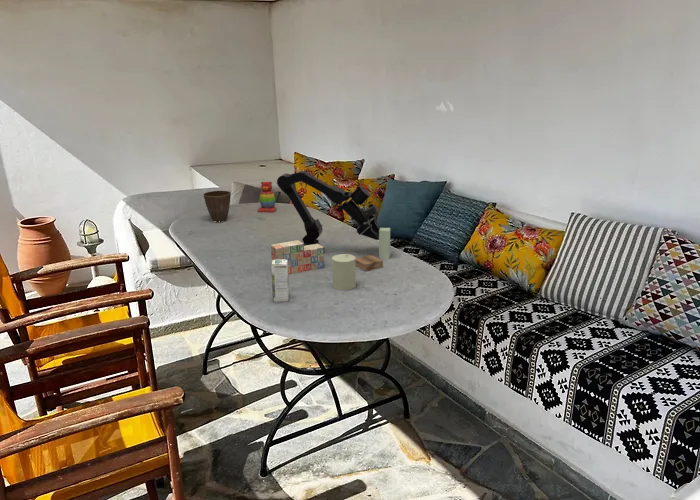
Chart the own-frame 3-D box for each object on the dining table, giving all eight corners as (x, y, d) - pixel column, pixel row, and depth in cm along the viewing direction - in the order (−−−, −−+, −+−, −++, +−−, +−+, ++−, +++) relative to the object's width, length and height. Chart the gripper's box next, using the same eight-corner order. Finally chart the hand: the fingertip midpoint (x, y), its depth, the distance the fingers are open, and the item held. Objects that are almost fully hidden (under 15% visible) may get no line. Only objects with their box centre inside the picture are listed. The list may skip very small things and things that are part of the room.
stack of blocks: (318, 263, 231) (318, 236, 227) (324, 267, 226) (324, 240, 222) (272, 271, 222) (270, 244, 218) (277, 276, 217) (275, 248, 213)
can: (359, 282, 209) (358, 254, 205) (351, 291, 200) (351, 261, 197) (337, 280, 212) (336, 251, 208) (329, 288, 203) (328, 259, 200)
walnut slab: (365, 271, 221) (365, 264, 220) (353, 265, 228) (353, 258, 227) (382, 267, 225) (382, 260, 224) (370, 261, 232) (370, 254, 232)
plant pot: (229, 224, 294) (227, 196, 289) (202, 224, 294) (200, 196, 289) (235, 217, 308) (233, 190, 303) (210, 217, 308) (207, 190, 303)
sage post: (378, 258, 236) (379, 230, 232) (380, 255, 240) (380, 227, 236) (388, 258, 235) (389, 230, 231) (390, 255, 240) (390, 228, 236)
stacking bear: (256, 212, 320) (254, 183, 314) (262, 208, 329) (260, 180, 323) (274, 212, 318) (272, 183, 312) (278, 208, 327) (277, 180, 322)
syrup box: (273, 296, 197) (271, 259, 193) (289, 295, 198) (287, 258, 193) (272, 302, 192) (270, 264, 187) (289, 301, 192) (287, 264, 188)
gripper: (363, 204, 222) (389, 230, 224) (370, 194, 240) (394, 219, 241) (345, 221, 226) (371, 247, 228) (353, 211, 244) (377, 235, 245)
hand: (379, 236), depth 235 cm, fingers open, 9 cm apart
